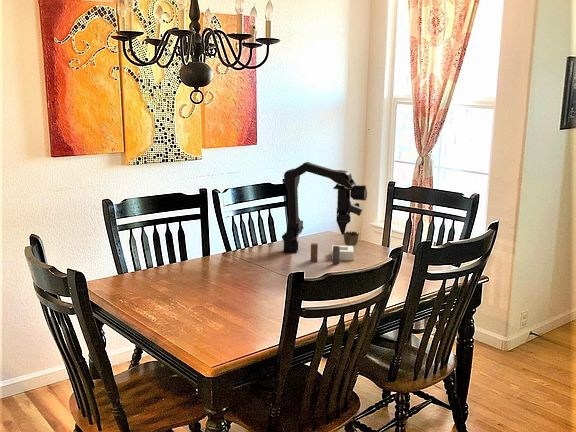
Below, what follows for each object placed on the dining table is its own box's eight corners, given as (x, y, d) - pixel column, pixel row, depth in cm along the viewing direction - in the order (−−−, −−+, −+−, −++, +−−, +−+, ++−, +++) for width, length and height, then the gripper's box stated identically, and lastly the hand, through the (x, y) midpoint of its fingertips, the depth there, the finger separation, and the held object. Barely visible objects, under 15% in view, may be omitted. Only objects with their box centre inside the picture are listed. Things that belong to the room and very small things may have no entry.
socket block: (331, 259, 271) (331, 251, 270) (332, 253, 281) (332, 245, 280) (353, 260, 270) (353, 251, 269) (353, 254, 280) (353, 245, 279)
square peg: (310, 262, 267) (310, 245, 266) (310, 260, 270) (311, 243, 269) (317, 262, 267) (317, 245, 265) (317, 260, 270) (317, 243, 268)
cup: (340, 247, 290) (340, 231, 289) (353, 245, 294) (353, 230, 292) (348, 251, 284) (348, 235, 282) (361, 249, 287) (361, 233, 285)
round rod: (332, 264, 264) (332, 247, 262) (332, 262, 267) (333, 245, 265) (339, 264, 263) (339, 247, 262) (339, 262, 266) (339, 245, 265)
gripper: (362, 203, 259) (361, 237, 263) (360, 195, 278) (359, 227, 281) (336, 202, 260) (336, 237, 264) (337, 194, 278) (336, 226, 282)
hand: (342, 232), depth 273 cm, fingers open, 9 cm apart
